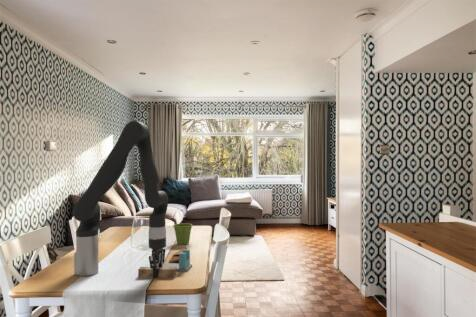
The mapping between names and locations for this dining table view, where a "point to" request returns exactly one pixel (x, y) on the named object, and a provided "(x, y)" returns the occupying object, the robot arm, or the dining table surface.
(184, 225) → the plant pot
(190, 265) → the bracket stand
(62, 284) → the dining table surface
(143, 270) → the rail
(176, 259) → the sunglasses case
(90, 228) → the robot arm
